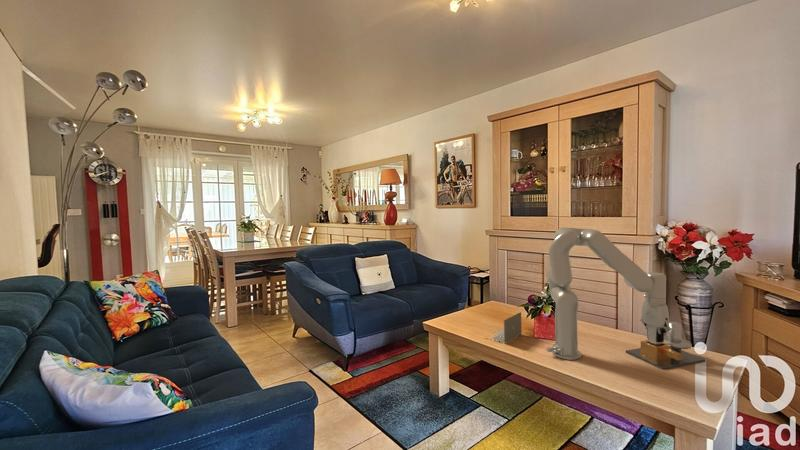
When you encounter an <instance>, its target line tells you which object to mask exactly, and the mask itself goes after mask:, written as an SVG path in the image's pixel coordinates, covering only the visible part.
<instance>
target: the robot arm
mask: <svg viewBox="0 0 800 450" xmlns="http://www.w3.org/2000/svg"><path fill="white" fill-rule="evenodd" d="M553 236H554V237H553V238H554V239H553V241H552V243H551V244H550V246H549V250H548V257H549V258H548V259H549V265H550V266H548V269H547V272H546V274H547V281H548V288H549V291H550V296H551V299H552V300H553V301H554V302H555V308H554V309H555V310H554V325H555V326H554V328H555V329H554V333H555V337H554V338H555V343H554V344H553V346H552V347H546V351H547V353H551V354H553V355H554V356H555V357H556V358H559V359H563V360H570V361H571V360H572V361H573V360H575V361H576V360H579V359H581V358H582V352H581V351H579V349H578V347H579V346H578V342H579V341H578V310H579V298H578V296H577V294H576V293H575V291H573V290H572V289H571V286H570V285H571V284H572V281H573V272H572V269H571V262H570V261H571V260H570V251H571V250H572V248H573V247H574V246H580V247H581V246H584V247H588V248H589V249H590V250H591V251H592V252H593V253H594V254H595V255H596V256H597V257H598V258H599V259H600V260H601V261H602V262H603V263H604V264H605V265H606V266H608V267H609V268H611V269H612V270H614V271H615V272H616V273H618V274H620V275H621V276H622V277H623V282H624V283H625V284H626V286H628V287H630V288H632V289H633V290H636V291H637V292H639V293H645V294H644V295H643V298H645V300H643V302H642V307H641V313H640V314H641V315H640V316H641V317H640V322H641V323H642V324H643V325H644V326H645V330H646V337H647V339H648V324H649V325H652V326H654V327H657V329H658V333H657V342H658V343H659V342H663V341H664V336H665V334H666V333H668V331H670V330H672V329H671V327H670V325H669V322H670V314H669V313H670V312H669V308H668V305H667V276H666V274H664V273H662V272H652V271H651V272H645V271H644V269H642V268H641V267H640V266H639V265H637V263H636V262H635V261H633V260H631V258H629V256H628V255H626V254H625V253H624V252H622V251H621V250H620V249H619V248H618V247H617V246H616V245H615V244H614V243H613V242H612V241H611V240H610V239H609V238H608V237H607V236H606V235H605V234H604V233H603V232H601V231H600V230H598V229H592V228H576V227H560V228H558V229H556V231H555V232H554V235H553ZM661 329H662V330H661ZM553 355H552V356H553Z"/></svg>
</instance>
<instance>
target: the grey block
mask: <svg viewBox="0 0 800 450" xmlns="http://www.w3.org/2000/svg"><path fill="white" fill-rule="evenodd" d="M661 330H662V329H661ZM657 333H658V329H657V327H654V326H652V325H649V324H648V338H647V340H648V341H649V344H652V345H654V346H661V345H662V343H663V342H659V343H658V342H657Z"/></svg>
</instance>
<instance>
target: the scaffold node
mask: <svg viewBox="0 0 800 450" xmlns="http://www.w3.org/2000/svg"><path fill="white" fill-rule="evenodd" d="M669 325H670V327H671V329H672V330H670V331H667V335H664V341H663V343H662V345H661V346H654V345H652V344H649V341H648V339H647V340H640V347H638V348H635V349H634V348H633V349H628V350H627V349H626V350H625V353H626V354H628V355H630V356H632V357H635V358H636V359H639V360H640V361H643V362H645V363H648V364H650V365H652V366H653V367H656V368H658V369H660V370H668V369H673V368H677V367H684V366H688V365H695V364H699V363H700V364H701V363H704V362H706V358H703V357H701V356H698V355H696V354H693V353H690V352H687V351H685V350H688V349H691V348H692V343H691V341H689V340H687V339H685V338H682V323H681V322H678V321H672V320H671V321H670V320H669Z"/></svg>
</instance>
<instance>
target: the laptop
mask: <svg viewBox="0 0 800 450" xmlns="http://www.w3.org/2000/svg"><path fill="white" fill-rule="evenodd" d="M498 331H499V333H500V335H499V333H498ZM522 331H523V330H522V312H518V313H516V314H515V315H512V316H510V317H508V318H505V319H504V320H503V328H499V330H497V331H494V332H492V333H493V334H494V333H496V332H497V334H496V335H497V336H496V335H494V336H495V337H493V339H494V341H493V342H497V343H499V341H500V342H501V343H500V344H503V343H504V344H503V345H506V344H507V342H508V343H509V342H511V341H513V340H514V339H516V338H518V337H519V335H520V336H521V335H522ZM503 333H504V334H503ZM501 334H502V335H503V336H504V337H503V336H502V335H501ZM500 336H501V337H500ZM517 336H518V337H517ZM515 337H516V338H515ZM491 339H492V338H491ZM512 339H513V340H512ZM496 340H497V341H496ZM510 340H511V341H510ZM505 343H506V344H505Z"/></svg>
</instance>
